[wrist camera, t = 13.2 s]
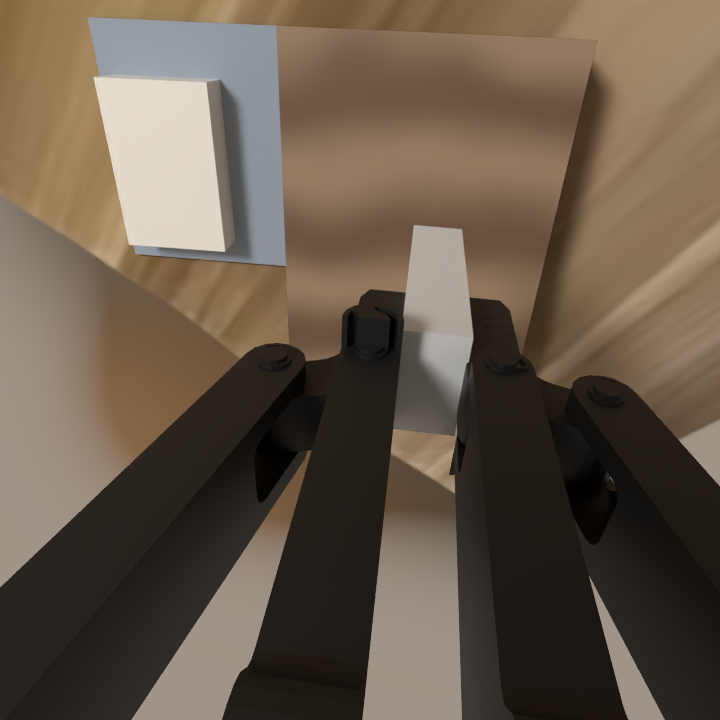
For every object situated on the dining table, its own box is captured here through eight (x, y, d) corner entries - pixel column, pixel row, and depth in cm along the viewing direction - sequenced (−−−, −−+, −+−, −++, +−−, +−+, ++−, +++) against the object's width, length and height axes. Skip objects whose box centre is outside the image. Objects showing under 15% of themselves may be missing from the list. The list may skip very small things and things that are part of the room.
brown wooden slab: (295, 26, 27) (276, 25, 23) (575, 39, 26) (597, 40, 22) (302, 333, 36) (289, 363, 33) (506, 351, 35) (514, 384, 32)
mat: (90, 17, 28) (87, 17, 27) (295, 26, 27) (294, 26, 26) (137, 252, 34) (135, 254, 34) (301, 265, 34) (300, 267, 33)
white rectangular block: (206, 82, 26) (219, 79, 28) (93, 77, 27) (113, 74, 29) (225, 251, 31) (235, 240, 33) (129, 244, 32) (144, 234, 33)
